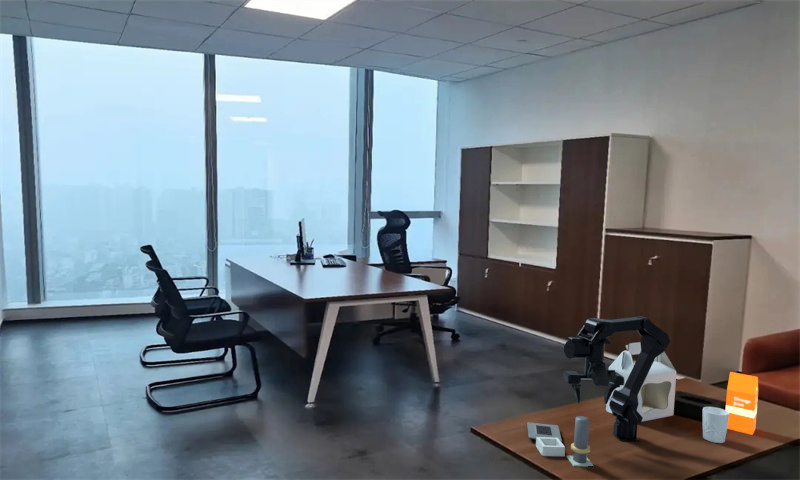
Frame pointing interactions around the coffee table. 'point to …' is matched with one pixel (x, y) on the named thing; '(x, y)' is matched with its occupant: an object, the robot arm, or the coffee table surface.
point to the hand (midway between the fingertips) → (591, 403)
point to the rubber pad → (579, 463)
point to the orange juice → (742, 402)
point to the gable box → (649, 383)
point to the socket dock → (550, 446)
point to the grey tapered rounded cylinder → (581, 440)
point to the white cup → (715, 424)
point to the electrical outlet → (543, 431)
